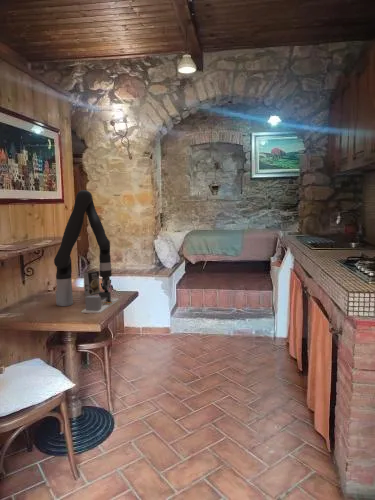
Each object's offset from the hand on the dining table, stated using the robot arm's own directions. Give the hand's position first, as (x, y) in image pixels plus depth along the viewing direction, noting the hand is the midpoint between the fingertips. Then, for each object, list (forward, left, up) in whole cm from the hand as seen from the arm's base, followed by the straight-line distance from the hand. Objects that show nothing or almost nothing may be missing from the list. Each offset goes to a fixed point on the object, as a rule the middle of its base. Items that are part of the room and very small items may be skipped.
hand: (106, 295), depth 243 cm
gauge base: (0, -10, -5) cm, 11 cm away
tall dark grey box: (+1, -9, -3) cm, 9 cm away
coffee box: (-20, +22, -5) cm, 30 cm away
